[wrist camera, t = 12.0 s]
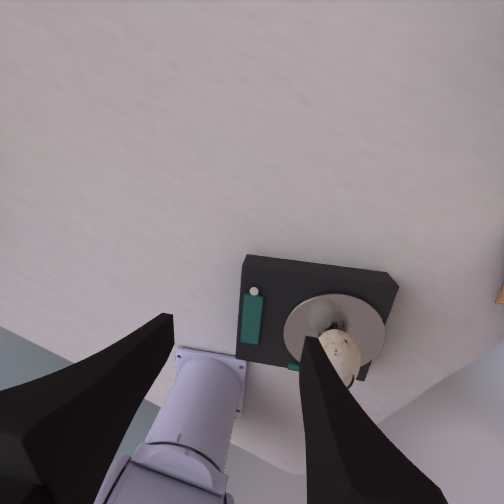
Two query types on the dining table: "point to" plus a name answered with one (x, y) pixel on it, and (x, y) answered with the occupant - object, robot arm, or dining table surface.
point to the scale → (288, 294)
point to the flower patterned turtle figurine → (501, 296)
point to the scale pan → (334, 322)
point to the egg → (342, 354)
